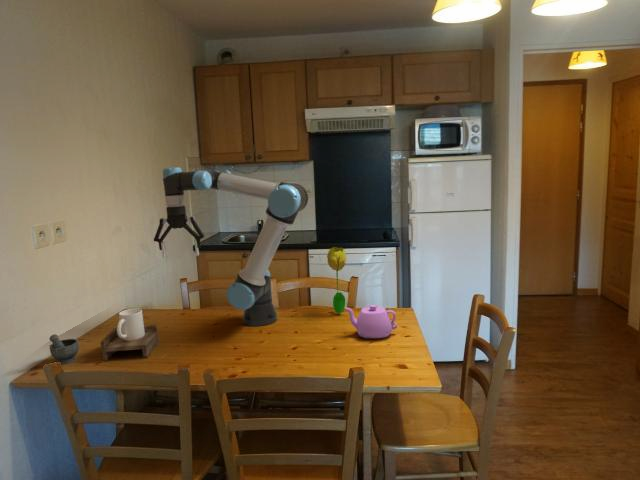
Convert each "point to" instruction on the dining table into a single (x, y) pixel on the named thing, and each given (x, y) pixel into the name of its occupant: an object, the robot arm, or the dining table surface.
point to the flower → (337, 263)
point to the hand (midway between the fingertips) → (181, 256)
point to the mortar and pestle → (63, 349)
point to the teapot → (373, 322)
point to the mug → (131, 325)
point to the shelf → (130, 342)
